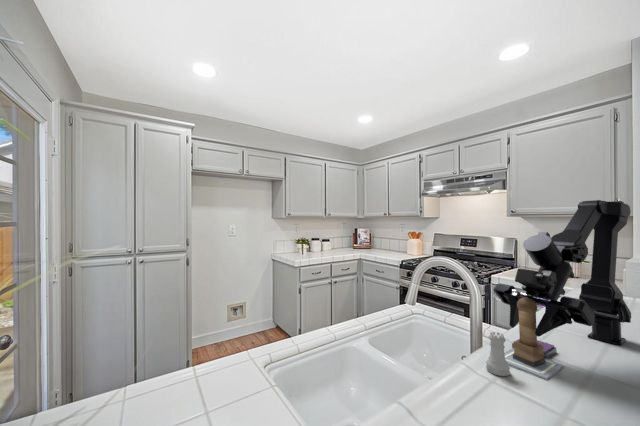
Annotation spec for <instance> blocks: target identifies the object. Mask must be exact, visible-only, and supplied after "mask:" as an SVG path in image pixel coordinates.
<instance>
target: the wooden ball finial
mask: <svg viewBox="0 0 640 426" xmlns="http://www.w3.org/2000/svg"><path fill="white" fill-rule="evenodd" d="M517 307H518V309H519V322H518V328H519V329H518V331H519V339H520V340H518V339H516V340H517V341H516V340H515V341H513V343H514V354H513V359H515V360H518V361H520V362H522V363H524V364H527V365H529V366H531V367H537V366H540V365H543V364H546V359H544V347H543V345H541V344H538V343H537V340H538V336H536V334H535V331H536V328H537V310H538V305H537V304H536V303H535V302H534V301H533V300H532V299H530V298H526V297H524V298H520V299H519V300H518V301H517Z"/></svg>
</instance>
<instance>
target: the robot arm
mask: <svg viewBox="0 0 640 426" xmlns="http://www.w3.org/2000/svg"><path fill="white" fill-rule="evenodd" d="M630 216H631V206H630V205H629V204H627V203H624V201H622V200H614V201H612V200H611V201H606V200H601V199H597V200H596V199H595V200H583V201H580V202H578V204H577V210H576V211H575V212H574V214H573V215H572V217H571V218H570V220H569V222H568V223H567V224H566V226H565V228H564V229H563V230H562V231H561V232H559V233H556V234H554V235H552V237H551V235H550V233H549V232H548V231H539V232H538V233H537V234H535V235H532V236H529V237H528V238H527V239H525V240H524V241H523V242H522V243H523V244H522V247H523V248H524V250H525V251H526V253H527V254H528V256H529V257H530V259H531V260H532V262H533V263H534V264H535V265H536V266H538V267H539V268H538V270H533V269H525V268H517V269H516V275H515V278H514V282H515V283H518V284H520V285H521V289H522V290H523V291H524V292H525V293H524V292H520V291H519V290H518V289H516V287H515V286H514V285H511V284H510V285H509V284H506V283H497V284H496V285H495V286H494V288H493V292H494V293H495V294H496V296H497V297H498V298H499V300H500V301H501V302H502V303H503V304H505V305H509V308H510V309H509V326H510V328H512V329H513V328H515V327H516V326H517V325H519V309H518V307H517V301H518V300H519V299H520V298H524V297H526V298H530V299H532V300H533V301H534V302H535V303H536V304H537V307H539V306H540V307H543V308H545V311H544V313H543V315H542V317H541V319H540V321H539V323H538V325H536V331H535V334H536V336H537V338H538V337H541V336H542V335H545V334H547V333H549V332H550V331H552V330H555V329H556V328H558V327H561V326H564V325H566V324H569V325H572V324H573V322H574V323H576V324H579V325H585V326H587V327H591V332H590V333H589V334H587V338H590V339H594V340H597V341H602V342H605V343H609V344H613V345H617V346H622V345H623V344H624V343H626V341H627V338H625V337H622V323H629V324H630V323H631V322H632V312H631V310H630V308H629V307H628V305H627V303H626V301H625V300H624V294H623V292H622V291H621V289H620V287H618V285H617V283H616V273H617V272H616V270H617V269H616V268H617V254H618V239H619V238H618V235H619V232H620V231H621V230H622V229H623V228H625V226H627V224H628V218H629V217H630ZM592 231H594V232H593V233H594V234H593V245H592V246H593V247H592V257H591V260H592V261H591V271H590V272H591V273H590V279H589V280H588V281H587V282H583V283H582V284H581V285H580V291H581V292H580V294H579V297H578V298H576V297H571V296H570V297H569V296H565V295H566V291H565V289H564V288H565V286H566V284H567V282H568V280H569V278H571V279H573V278H575V273H574V272H573V267H572V266H571V264H570V263H575V264H582V263H583V262H584V261H585V259H587V257H588V254H589V248H588V246H587V244H586V242H587V240H588V238H589V236H590V235H591V232H592ZM560 296H561V297H560ZM559 297H560V298H559ZM558 299H559V300H558ZM572 320H573V321H572Z"/></svg>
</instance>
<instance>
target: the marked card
mask: <svg viewBox="0 0 640 426" xmlns="http://www.w3.org/2000/svg"><path fill="white" fill-rule="evenodd" d="M513 354H514V348H512V347H511V348H510V349H509V350H507V351H504V355H505V359H506V361H507V364H508V365H509V367H512V368H514V369H517V370H520V371H523V372H525V373H527V374H530V375H533V376H535V377H538V378H540V379H542V380H546V381H548V380H549V379H550V378H552V377H553V376H555V375H556V374H557V373H558V372H559V371H561V370H562V369H564V368H565V365H564V364H563V363H562V364H561V363H559V362H556V361H553V360H551V359H549V358H548V359H546V364H543V365H540V366H537V367H531V366H529V365H527V364H524V363H522V362H520V361H518V360H515V359H513ZM544 359H545V358H544Z"/></svg>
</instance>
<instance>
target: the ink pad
mask: <svg viewBox="0 0 640 426" xmlns="http://www.w3.org/2000/svg"><path fill="white" fill-rule="evenodd" d="M517 340H520V338H518V339H516V340H515V341H517ZM537 343H538V344H541V345H543V347H544V358H545V359H548V360H549V358H550V357H552V356H553V355H555V354H557V352H558V351H557V347H556V346H555V345H554V344H551V343H548V342H544V341H541V340H538V339H537ZM512 348H514V342H512V343H511V349H512Z"/></svg>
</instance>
